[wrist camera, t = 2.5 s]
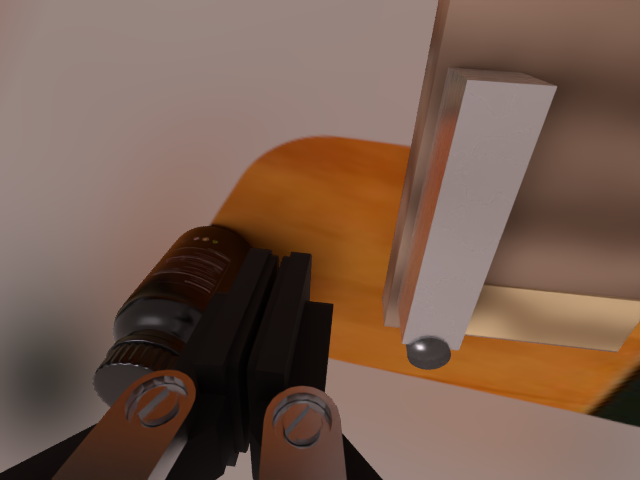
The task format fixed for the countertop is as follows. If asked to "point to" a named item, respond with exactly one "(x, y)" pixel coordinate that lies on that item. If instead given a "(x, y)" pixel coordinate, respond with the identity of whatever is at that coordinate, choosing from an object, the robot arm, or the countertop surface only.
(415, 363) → the stool leg
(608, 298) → the stool seat
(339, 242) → the countertop surface
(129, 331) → the supplement bottle
